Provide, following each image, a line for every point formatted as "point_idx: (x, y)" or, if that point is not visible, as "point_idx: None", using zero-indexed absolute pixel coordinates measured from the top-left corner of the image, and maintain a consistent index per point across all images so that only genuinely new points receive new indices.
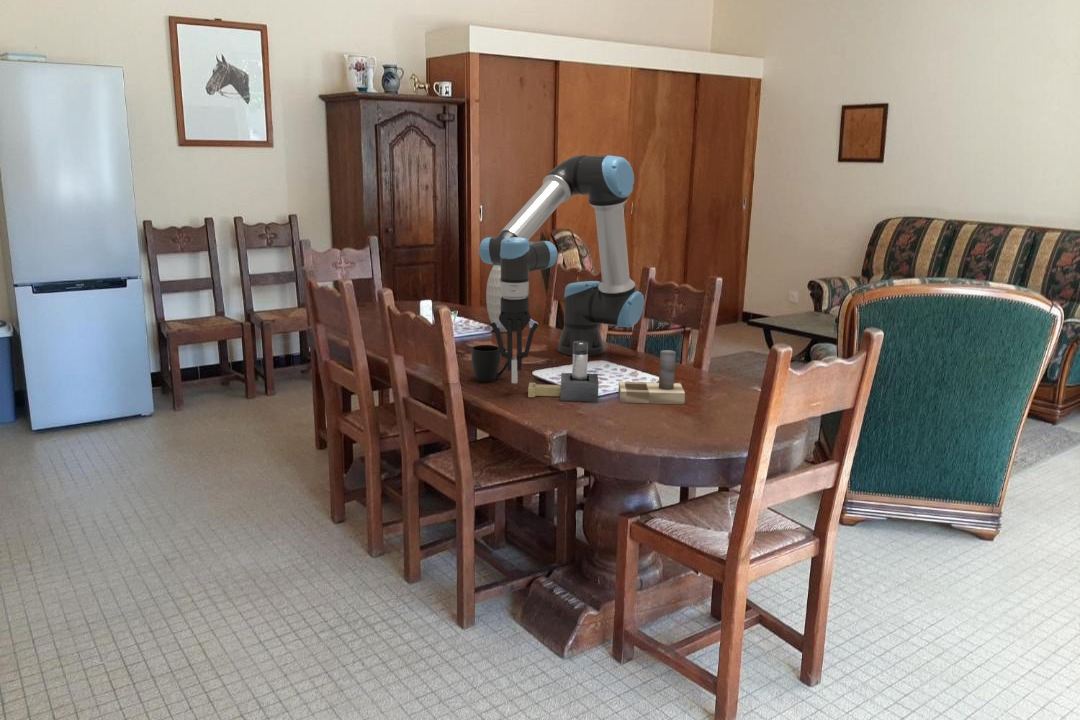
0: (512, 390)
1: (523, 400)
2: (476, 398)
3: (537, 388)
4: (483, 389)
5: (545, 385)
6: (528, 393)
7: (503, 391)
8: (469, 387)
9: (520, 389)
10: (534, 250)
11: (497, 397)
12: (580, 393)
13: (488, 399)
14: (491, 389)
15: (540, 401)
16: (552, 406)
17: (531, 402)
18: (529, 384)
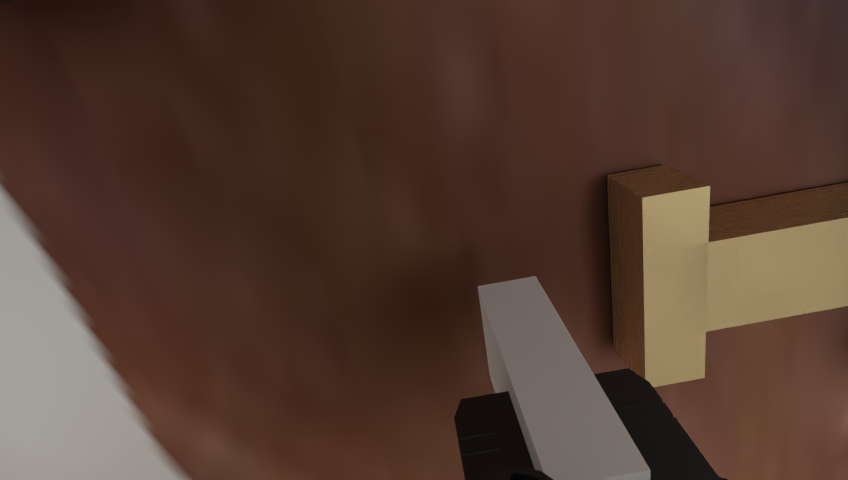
0: (450, 183)
1: None
2: (228, 464)
3: (720, 321)
4: (178, 226)
5: (804, 251)
6: (629, 361)
7: (378, 236)
8: (16, 199)
9: (518, 130)
10: None
11: (376, 401)
12: None
13: (325, 460)
14: (250, 205)
15: (709, 400)
16: (788, 472)
17: None
18: (648, 263)
